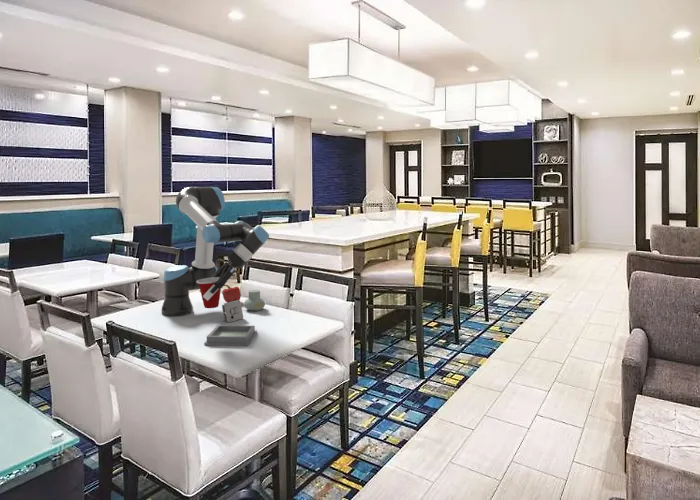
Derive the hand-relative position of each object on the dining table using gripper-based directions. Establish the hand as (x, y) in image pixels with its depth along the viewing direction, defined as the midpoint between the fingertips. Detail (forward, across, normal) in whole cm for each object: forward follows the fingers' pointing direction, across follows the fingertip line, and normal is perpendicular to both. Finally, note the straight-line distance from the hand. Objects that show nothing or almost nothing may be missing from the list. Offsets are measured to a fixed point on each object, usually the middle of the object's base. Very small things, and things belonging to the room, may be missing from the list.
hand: (203, 295), depth 207 cm
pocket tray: (+6, -3, -21) cm, 22 cm away
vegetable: (-3, +61, -30) cm, 68 cm away
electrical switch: (+2, +26, -25) cm, 37 cm away
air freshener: (-8, +42, -36) cm, 55 cm away
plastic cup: (+2, 0, -6) cm, 6 cm away
